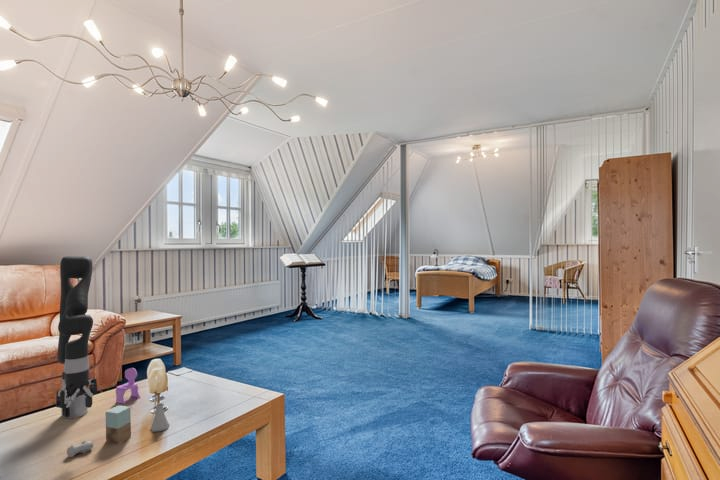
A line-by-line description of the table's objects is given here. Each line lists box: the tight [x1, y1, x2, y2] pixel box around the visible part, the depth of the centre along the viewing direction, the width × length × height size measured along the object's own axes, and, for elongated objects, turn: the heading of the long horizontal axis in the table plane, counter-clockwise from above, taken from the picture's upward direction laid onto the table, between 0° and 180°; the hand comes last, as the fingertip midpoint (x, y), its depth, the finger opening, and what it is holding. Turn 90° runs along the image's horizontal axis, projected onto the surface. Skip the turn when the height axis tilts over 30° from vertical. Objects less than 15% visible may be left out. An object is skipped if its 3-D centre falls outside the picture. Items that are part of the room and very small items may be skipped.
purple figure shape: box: [115, 367, 141, 405], centre depth 198 cm, size 8×9×15 cm
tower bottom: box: [105, 422, 132, 445], centre depth 160 cm, size 6×6×6 cm
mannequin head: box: [66, 440, 94, 458], centre depth 151 cm, size 4×8×5 cm
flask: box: [150, 402, 170, 433], centre depth 169 cm, size 7×7×10 cm
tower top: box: [105, 404, 132, 429], centre depth 160 cm, size 6×6×6 cm
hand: (77, 412), depth 150 cm, fingers open, 8 cm apart
